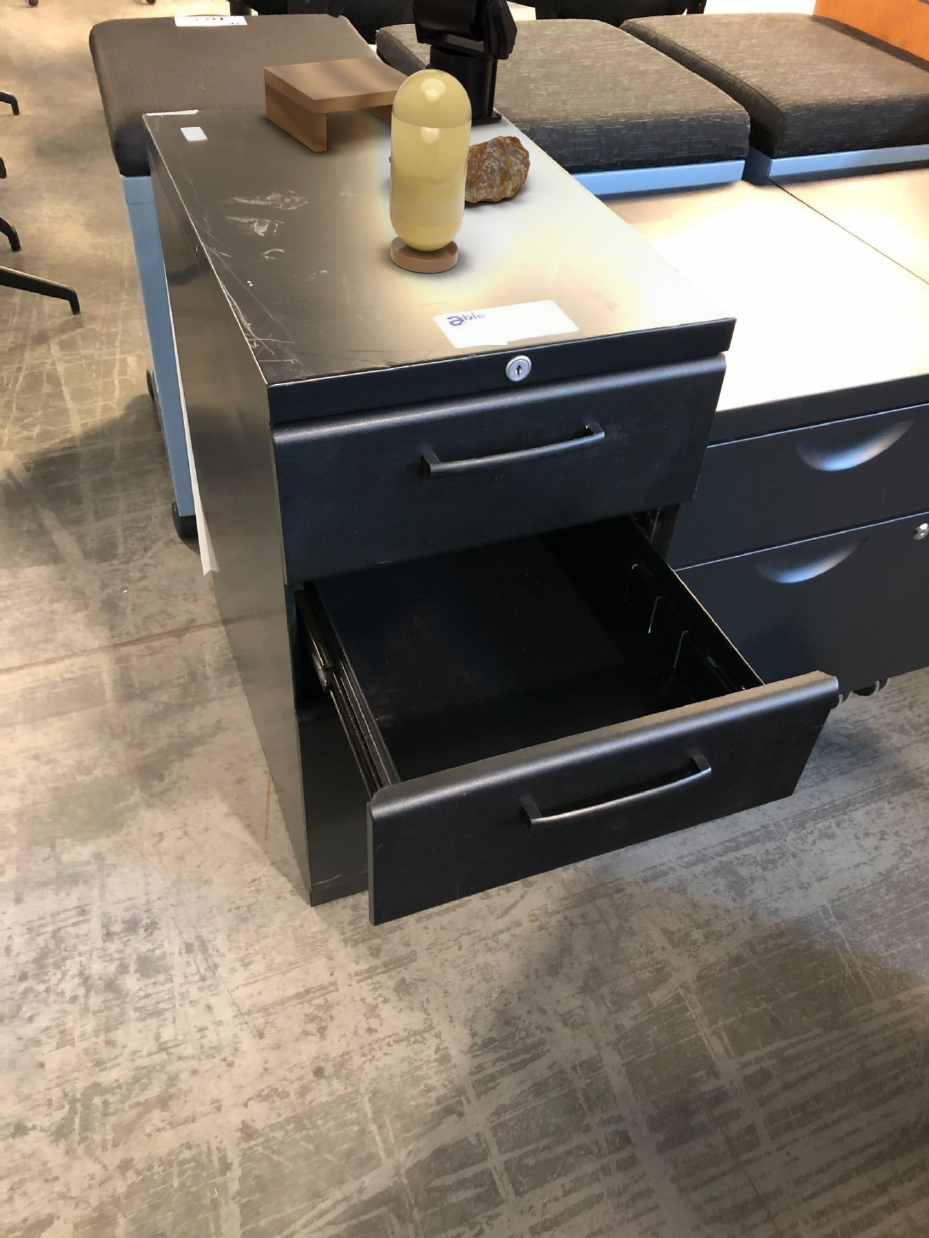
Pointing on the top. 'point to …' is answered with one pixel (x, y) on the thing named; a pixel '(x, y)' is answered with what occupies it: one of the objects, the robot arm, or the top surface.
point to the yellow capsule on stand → (428, 170)
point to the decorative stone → (495, 169)
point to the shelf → (327, 94)
